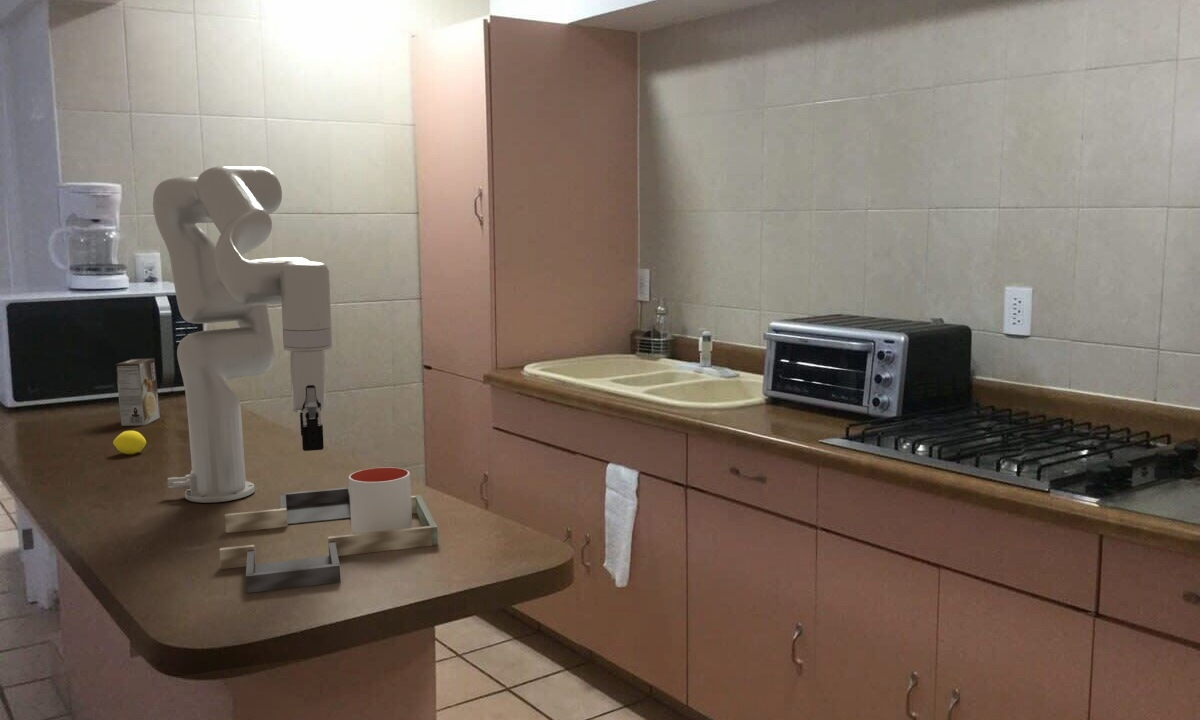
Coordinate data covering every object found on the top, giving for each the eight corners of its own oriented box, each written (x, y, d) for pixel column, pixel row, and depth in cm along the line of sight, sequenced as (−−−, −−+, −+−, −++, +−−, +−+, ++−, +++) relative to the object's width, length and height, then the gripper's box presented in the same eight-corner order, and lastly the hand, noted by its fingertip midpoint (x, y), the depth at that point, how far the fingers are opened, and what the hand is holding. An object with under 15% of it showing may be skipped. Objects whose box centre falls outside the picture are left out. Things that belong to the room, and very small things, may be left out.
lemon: (143, 452, 242) (145, 428, 242) (147, 456, 238) (149, 432, 237) (110, 452, 238) (111, 428, 238) (113, 456, 234) (115, 432, 233)
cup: (360, 545, 171) (357, 485, 169) (345, 529, 179) (341, 472, 178) (420, 535, 175) (417, 477, 174) (402, 520, 184) (399, 464, 183)
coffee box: (136, 418, 278) (131, 358, 276) (160, 418, 278) (155, 358, 276) (120, 426, 269) (114, 363, 267) (145, 425, 269) (140, 363, 267)
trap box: (217, 596, 149) (215, 576, 149) (229, 511, 191) (227, 495, 190) (449, 569, 159) (449, 549, 158) (412, 494, 200) (412, 478, 200)
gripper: (282, 332, 177) (287, 431, 180) (283, 348, 160) (289, 457, 163) (328, 330, 179) (332, 429, 182) (334, 346, 162) (338, 454, 165)
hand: (312, 442), depth 172 cm, fingers open, 9 cm apart
